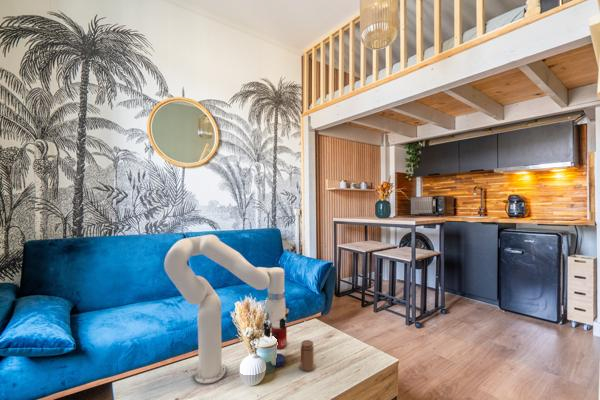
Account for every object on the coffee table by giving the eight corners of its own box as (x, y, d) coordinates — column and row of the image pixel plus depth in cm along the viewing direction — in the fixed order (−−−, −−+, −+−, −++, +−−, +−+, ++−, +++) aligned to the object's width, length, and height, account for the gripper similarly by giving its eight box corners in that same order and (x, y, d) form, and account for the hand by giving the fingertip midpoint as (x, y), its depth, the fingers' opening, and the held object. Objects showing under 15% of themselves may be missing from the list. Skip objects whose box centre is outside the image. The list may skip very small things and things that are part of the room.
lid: (284, 366, 124) (284, 361, 124) (269, 367, 124) (269, 362, 124) (284, 358, 131) (284, 353, 131) (270, 358, 131) (270, 353, 131)
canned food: (287, 341, 146) (287, 320, 146) (285, 349, 138) (285, 327, 138) (273, 340, 146) (273, 320, 146) (270, 349, 139) (270, 327, 138)
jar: (303, 372, 120) (303, 347, 120) (299, 364, 125) (298, 340, 125) (315, 369, 122) (315, 344, 122) (310, 362, 127) (310, 338, 127)
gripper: (283, 288, 136) (282, 323, 136) (255, 298, 122) (255, 336, 123) (294, 292, 131) (293, 328, 131) (267, 302, 118) (266, 342, 118)
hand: (275, 332), depth 127 cm, fingers open, 9 cm apart
